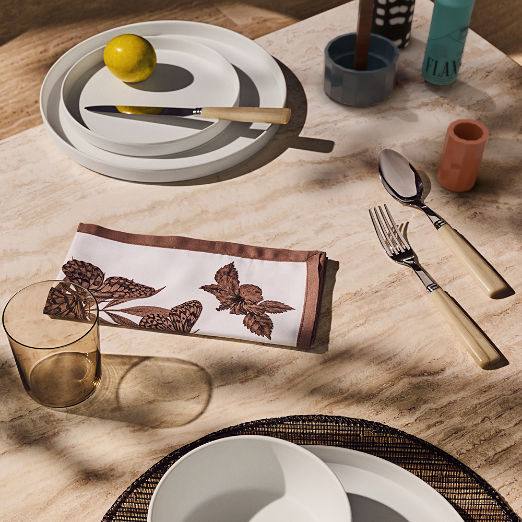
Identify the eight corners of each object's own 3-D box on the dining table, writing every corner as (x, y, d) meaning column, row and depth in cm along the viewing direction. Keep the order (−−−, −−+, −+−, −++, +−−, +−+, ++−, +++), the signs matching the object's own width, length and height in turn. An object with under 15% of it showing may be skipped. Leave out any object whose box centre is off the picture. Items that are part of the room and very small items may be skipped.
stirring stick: (363, 81, 118) (378, -59, 100) (364, 88, 117) (379, -53, 98) (351, 81, 118) (364, -59, 100) (353, 88, 117) (365, -52, 98)
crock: (470, 166, 104) (483, 118, 97) (478, 191, 100) (493, 143, 93) (433, 167, 104) (444, 119, 97) (440, 192, 100) (452, 144, 93)
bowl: (388, 66, 122) (393, 30, 116) (398, 107, 114) (404, 71, 108) (320, 68, 122) (322, 33, 116) (325, 110, 114) (327, 74, 108)
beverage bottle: (415, 88, 117) (434, -25, 102) (423, 68, 121) (443, -44, 106) (453, 96, 115) (478, -18, 100) (460, 75, 119) (486, -38, 104)
